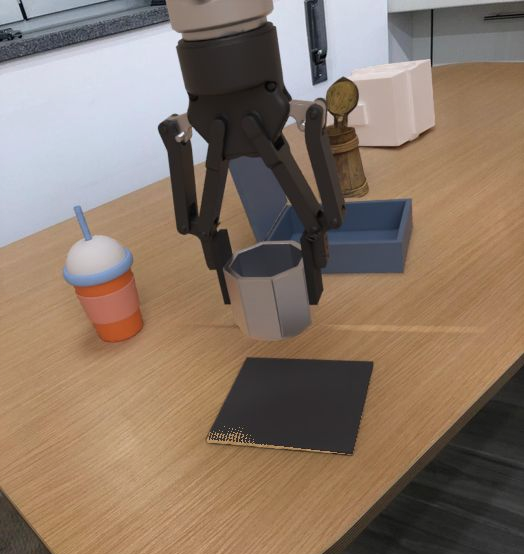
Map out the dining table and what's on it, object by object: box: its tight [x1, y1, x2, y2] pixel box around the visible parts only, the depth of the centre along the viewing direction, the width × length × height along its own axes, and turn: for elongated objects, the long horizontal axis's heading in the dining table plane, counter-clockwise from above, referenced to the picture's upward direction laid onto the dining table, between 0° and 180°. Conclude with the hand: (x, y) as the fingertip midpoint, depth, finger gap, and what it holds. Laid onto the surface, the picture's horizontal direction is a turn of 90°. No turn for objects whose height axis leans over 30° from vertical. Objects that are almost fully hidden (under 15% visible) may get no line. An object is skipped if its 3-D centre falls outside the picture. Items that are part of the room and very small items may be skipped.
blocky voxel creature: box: [323, 58, 436, 147], centre depth 132 cm, size 15×25×28 cm
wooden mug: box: [325, 76, 369, 199], centre depth 107 cm, size 9×14×18 cm, turn 164°
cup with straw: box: [62, 205, 144, 343], centre depth 78 cm, size 9×9×18 cm
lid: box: [228, 156, 289, 244], centre depth 85 cm, size 20×15×1 cm
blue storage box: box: [264, 197, 414, 275], centre depth 89 cm, size 20×15×5 cm
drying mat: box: [205, 356, 375, 455], centre depth 64 cm, size 15×14×1 cm
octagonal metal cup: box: [223, 241, 319, 342], centre depth 56 cm, size 8×8×6 cm
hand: (273, 297), depth 56 cm, fingers closed on octagonal metal cup, 8 cm apart
